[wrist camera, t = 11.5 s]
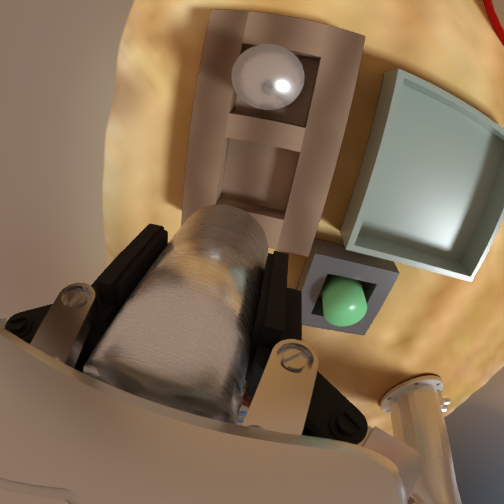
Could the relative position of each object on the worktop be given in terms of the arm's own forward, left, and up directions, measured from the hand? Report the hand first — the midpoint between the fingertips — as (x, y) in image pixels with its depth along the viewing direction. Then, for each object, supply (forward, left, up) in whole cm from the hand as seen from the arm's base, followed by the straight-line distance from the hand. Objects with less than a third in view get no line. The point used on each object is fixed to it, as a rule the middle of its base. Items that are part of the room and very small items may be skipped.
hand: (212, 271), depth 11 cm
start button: (-11, +10, -16) cm, 22 cm away
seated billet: (0, -8, -15) cm, 17 cm away
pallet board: (0, -4, -16) cm, 17 cm away
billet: (0, 0, -2) cm, 2 cm away
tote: (-17, -4, -16) cm, 24 cm away
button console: (-11, +10, -16) cm, 22 cm away
